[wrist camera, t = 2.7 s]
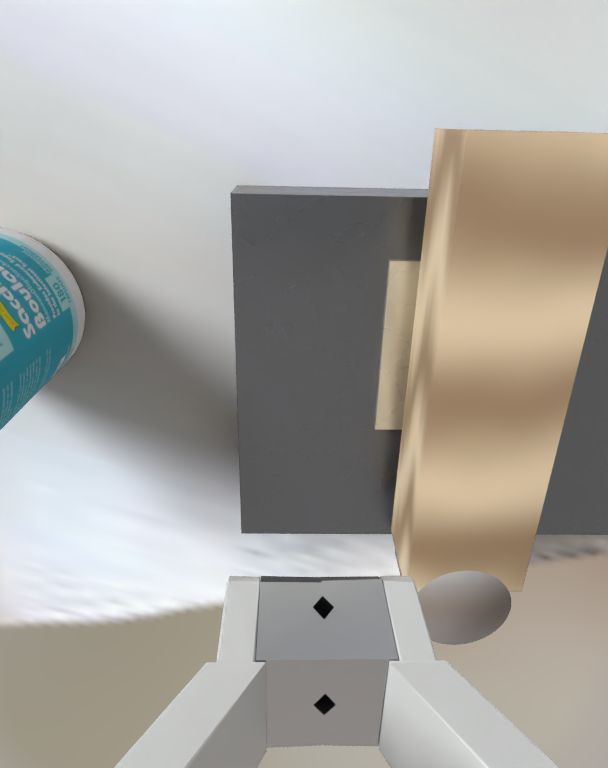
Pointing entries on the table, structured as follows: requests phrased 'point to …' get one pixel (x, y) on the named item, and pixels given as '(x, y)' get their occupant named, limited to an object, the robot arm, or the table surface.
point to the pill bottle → (34, 319)
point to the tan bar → (493, 361)
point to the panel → (361, 365)
